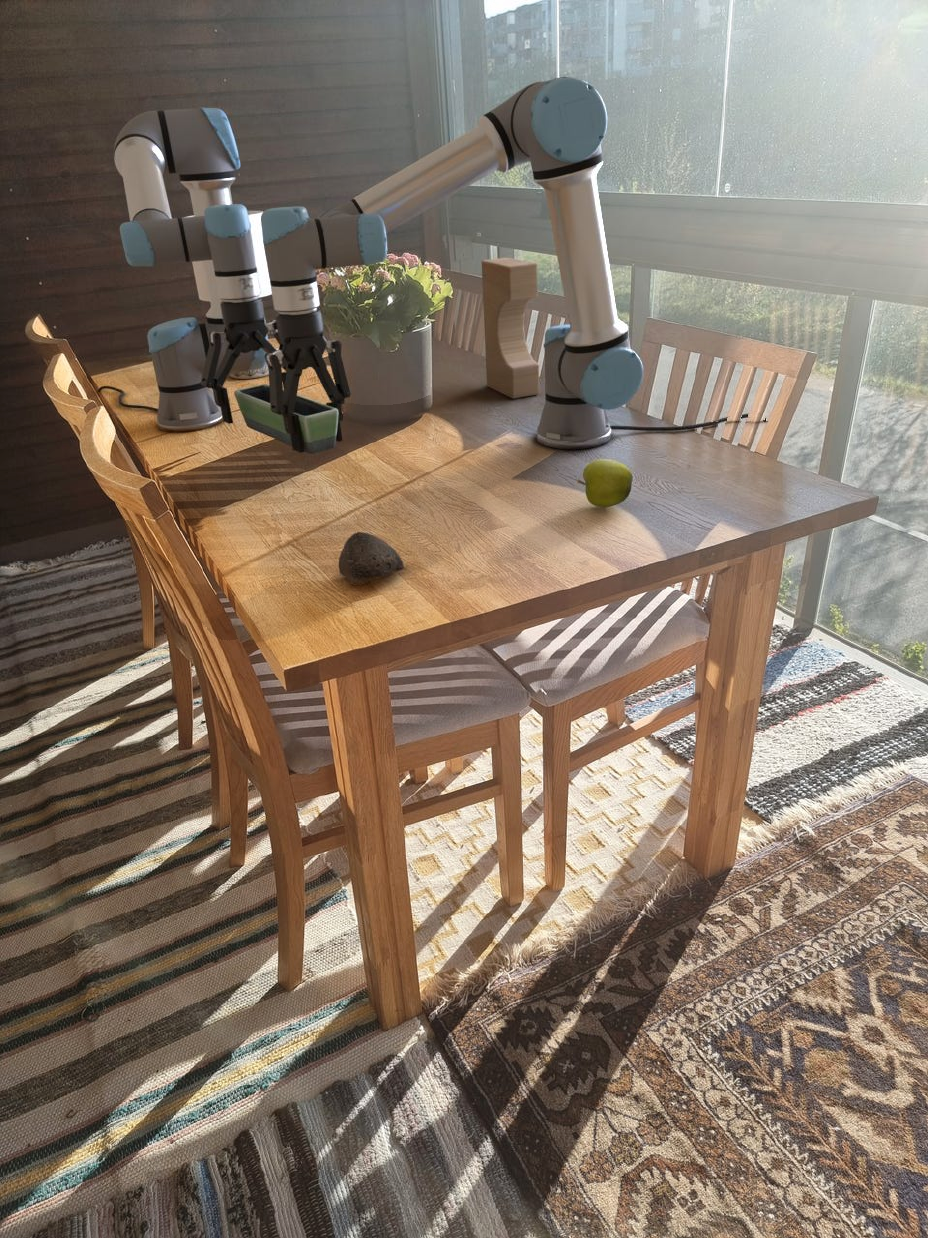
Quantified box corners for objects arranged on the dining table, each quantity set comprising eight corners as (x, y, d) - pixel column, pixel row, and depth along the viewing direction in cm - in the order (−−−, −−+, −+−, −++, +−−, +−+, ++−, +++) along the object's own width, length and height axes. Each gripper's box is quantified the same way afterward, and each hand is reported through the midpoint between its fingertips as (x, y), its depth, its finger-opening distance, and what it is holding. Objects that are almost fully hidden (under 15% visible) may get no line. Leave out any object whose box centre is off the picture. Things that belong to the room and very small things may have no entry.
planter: (238, 427, 172) (232, 390, 168) (271, 419, 176) (265, 382, 172) (309, 458, 153) (303, 417, 149) (345, 448, 156) (340, 408, 153)
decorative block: (540, 394, 215) (538, 263, 201) (512, 399, 213) (508, 266, 198) (512, 381, 227) (509, 256, 213) (486, 386, 225) (480, 260, 210)
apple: (575, 498, 154) (576, 454, 151) (628, 496, 154) (629, 451, 150) (579, 515, 148) (579, 469, 144) (634, 513, 147) (636, 467, 143)
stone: (370, 582, 138) (319, 551, 133) (405, 543, 136) (354, 511, 130) (380, 619, 131) (327, 588, 125) (417, 579, 128) (364, 545, 123)
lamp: (301, 366, 256) (278, 209, 236) (258, 384, 240) (230, 217, 220) (244, 363, 264) (217, 211, 244) (199, 380, 248) (166, 219, 228)
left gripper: (184, 311, 151) (208, 433, 161) (310, 290, 164) (325, 403, 174) (166, 307, 156) (191, 425, 166) (290, 286, 169) (306, 397, 179)
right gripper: (253, 323, 137) (277, 464, 148) (361, 302, 148) (376, 435, 159) (231, 318, 143) (257, 454, 154) (337, 298, 153) (354, 427, 164)
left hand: (260, 414), depth 170 cm, fingers open, 13 cm apart
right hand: (317, 444), depth 156 cm, fingers closed on planter, 7 cm apart
